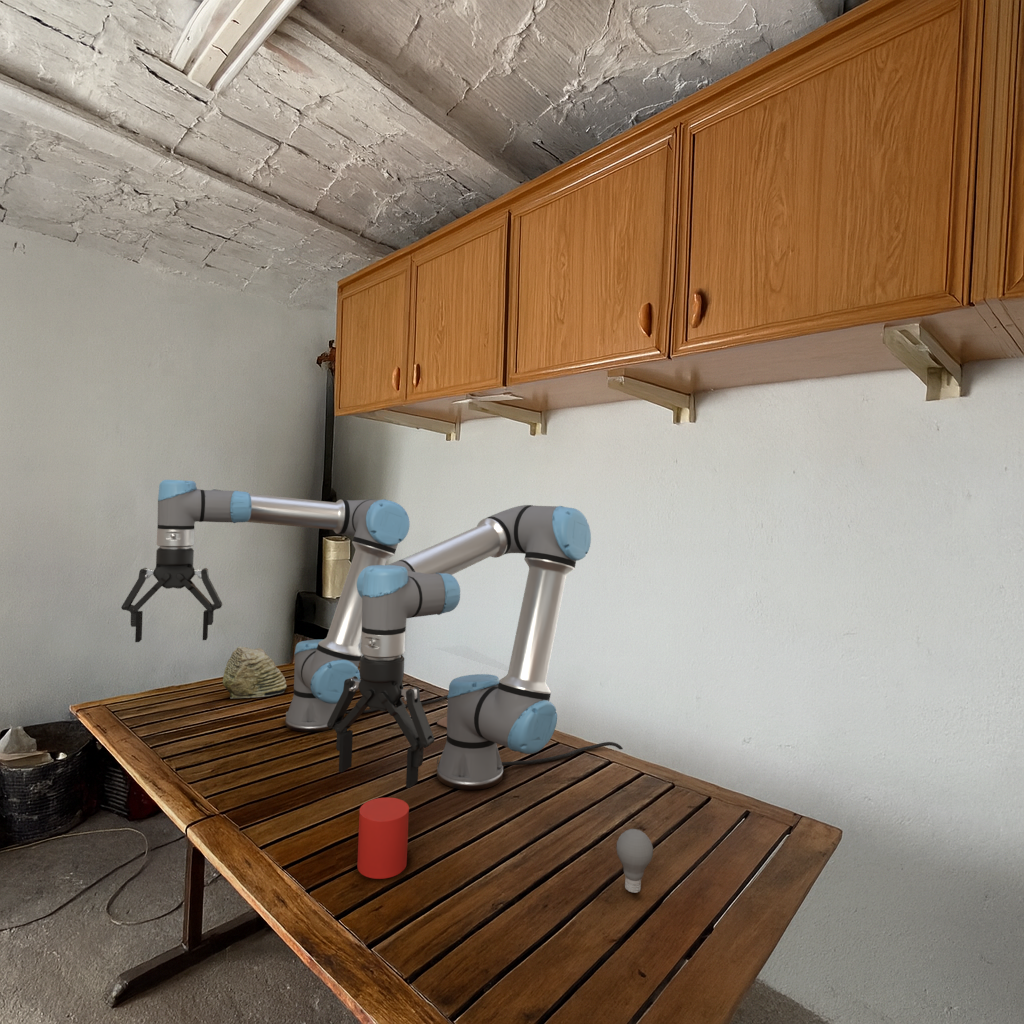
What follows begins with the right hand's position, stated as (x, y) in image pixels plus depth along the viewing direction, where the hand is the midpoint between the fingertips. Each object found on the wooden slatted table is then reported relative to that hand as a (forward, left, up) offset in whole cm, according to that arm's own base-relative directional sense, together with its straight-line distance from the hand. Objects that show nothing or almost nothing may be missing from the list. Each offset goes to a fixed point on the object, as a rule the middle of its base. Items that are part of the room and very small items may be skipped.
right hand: (377, 776), depth 110 cm
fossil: (+2, -104, -15) cm, 106 cm away
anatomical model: (-45, -55, -15) cm, 73 cm away
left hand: (+29, -59, +14) cm, 67 cm away
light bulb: (-35, +27, -15) cm, 47 cm away
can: (-1, +1, -15) cm, 15 cm away
